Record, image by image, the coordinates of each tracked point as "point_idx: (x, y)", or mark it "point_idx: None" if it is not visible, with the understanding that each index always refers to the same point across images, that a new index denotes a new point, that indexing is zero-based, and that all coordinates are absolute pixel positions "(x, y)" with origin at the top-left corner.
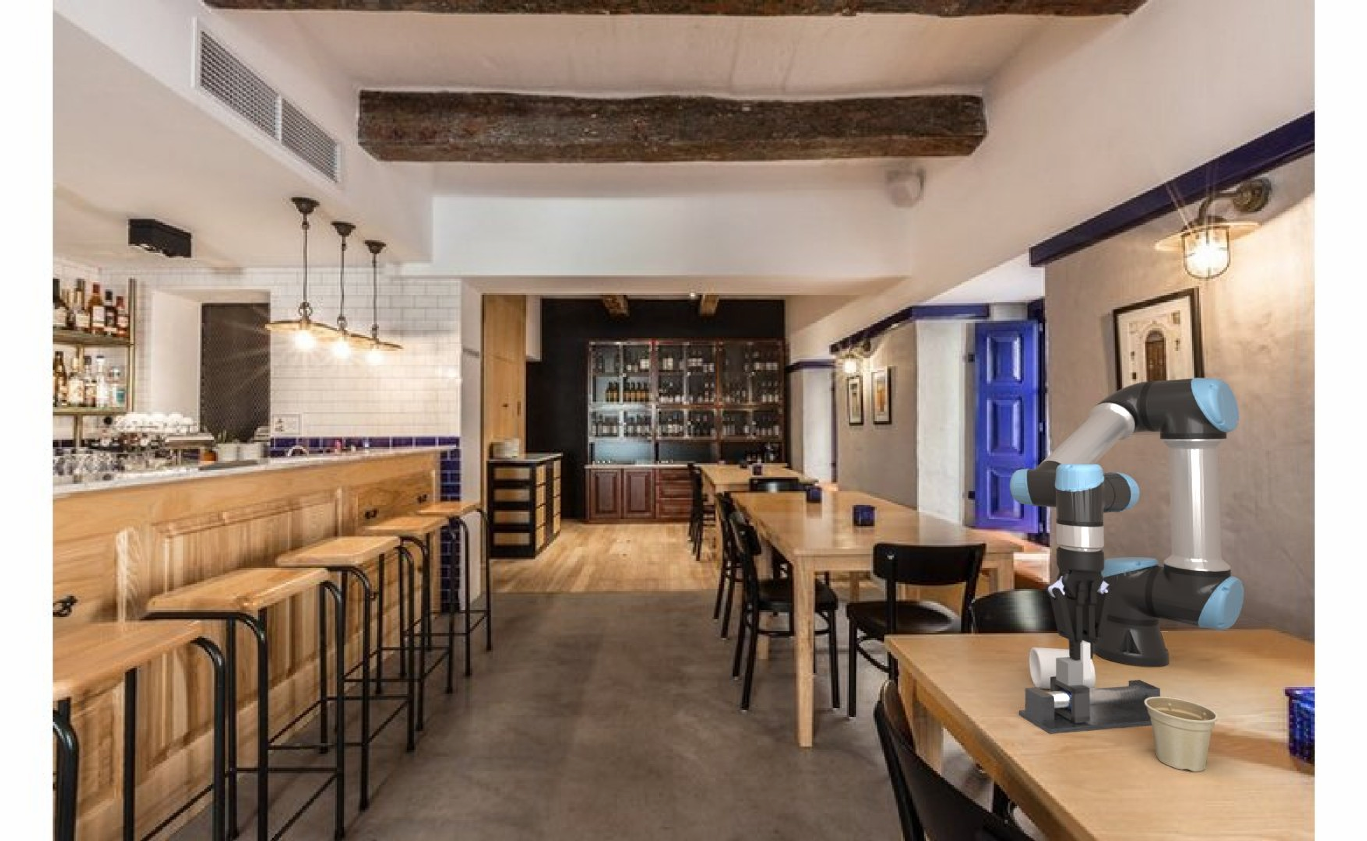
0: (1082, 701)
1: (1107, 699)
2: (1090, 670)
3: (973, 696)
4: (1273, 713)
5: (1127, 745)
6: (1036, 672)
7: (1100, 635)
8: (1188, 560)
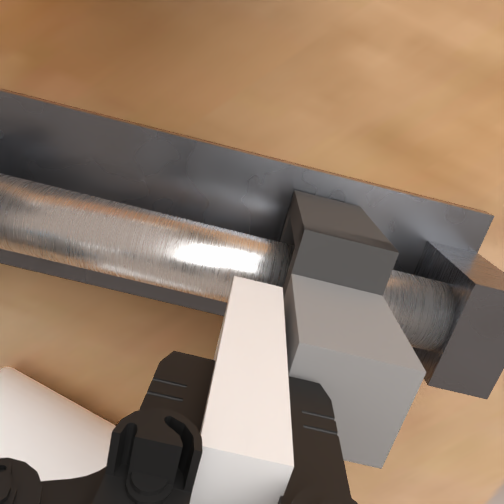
0: (338, 221)
1: (155, 213)
2: (229, 299)
3: (411, 492)
4: None
5: (317, 12)
6: None
7: (6, 487)
8: None
